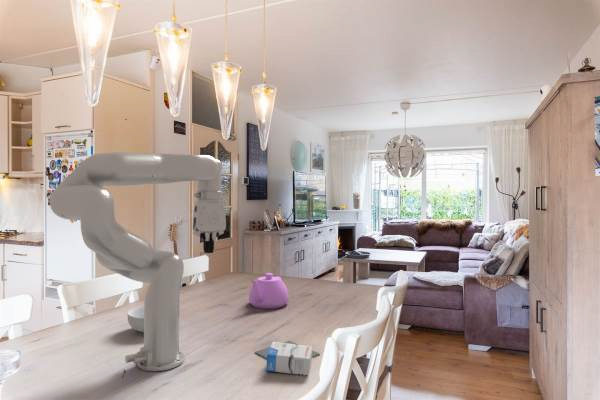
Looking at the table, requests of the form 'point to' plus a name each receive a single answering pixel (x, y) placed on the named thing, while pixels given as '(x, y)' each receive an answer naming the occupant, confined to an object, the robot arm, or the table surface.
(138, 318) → the cereal bowl
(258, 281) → the teapot
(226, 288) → the table surface
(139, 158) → the robot arm
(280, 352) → the ink box
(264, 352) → the mat
